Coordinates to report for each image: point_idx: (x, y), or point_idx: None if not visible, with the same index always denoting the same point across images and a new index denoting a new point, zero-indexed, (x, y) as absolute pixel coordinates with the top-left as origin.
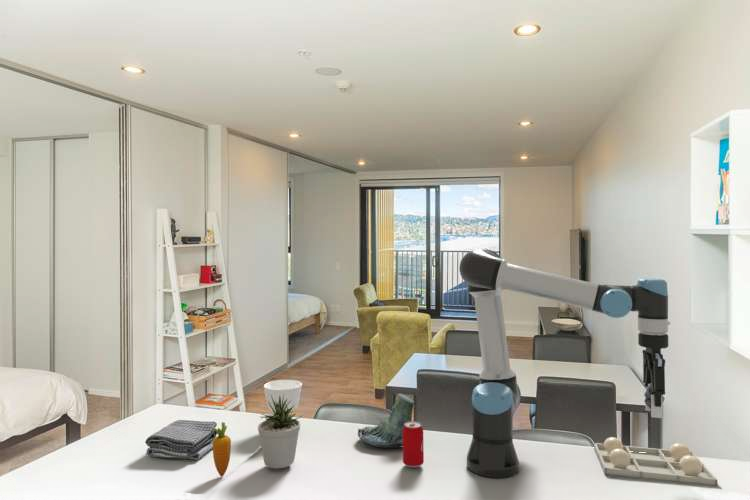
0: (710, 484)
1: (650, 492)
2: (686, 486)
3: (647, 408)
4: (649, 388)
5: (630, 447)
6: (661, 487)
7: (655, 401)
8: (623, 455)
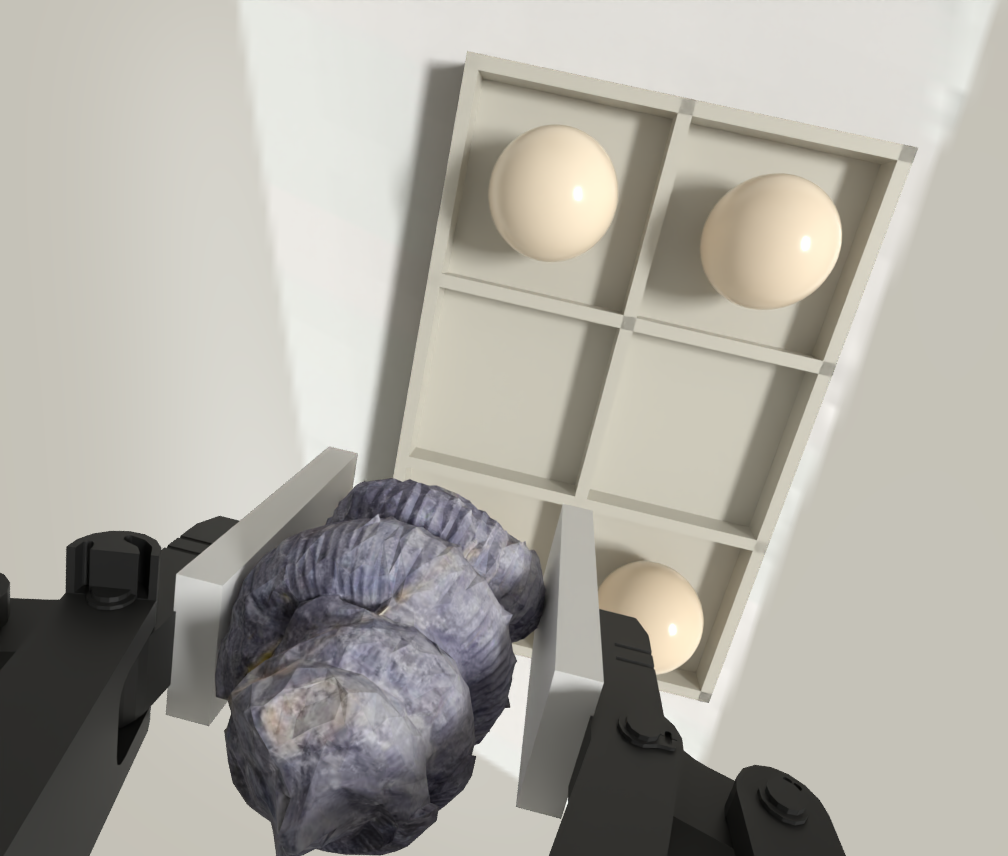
0: None
1: (284, 248)
2: (373, 466)
3: (558, 525)
4: (288, 648)
5: (811, 390)
6: (347, 335)
7: (177, 548)
8: (498, 197)
